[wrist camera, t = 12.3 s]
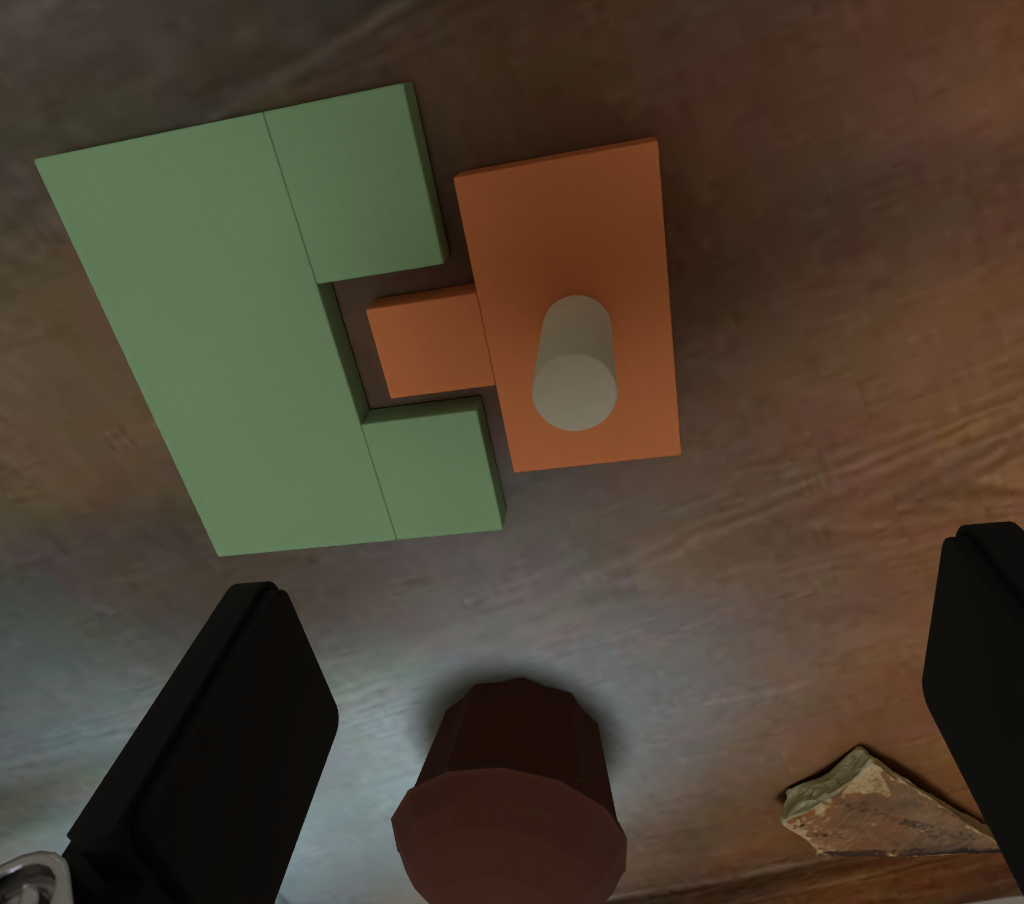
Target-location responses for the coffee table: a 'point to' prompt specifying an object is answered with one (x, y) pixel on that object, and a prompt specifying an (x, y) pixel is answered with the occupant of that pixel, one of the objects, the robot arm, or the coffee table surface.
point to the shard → (878, 815)
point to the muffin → (512, 804)
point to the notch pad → (278, 318)
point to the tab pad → (526, 273)
